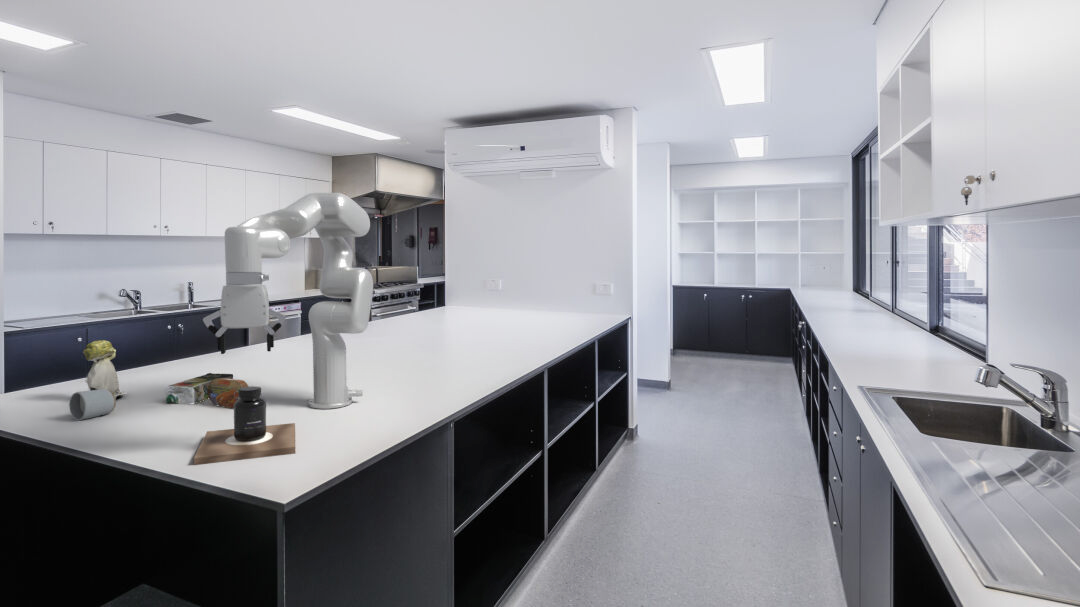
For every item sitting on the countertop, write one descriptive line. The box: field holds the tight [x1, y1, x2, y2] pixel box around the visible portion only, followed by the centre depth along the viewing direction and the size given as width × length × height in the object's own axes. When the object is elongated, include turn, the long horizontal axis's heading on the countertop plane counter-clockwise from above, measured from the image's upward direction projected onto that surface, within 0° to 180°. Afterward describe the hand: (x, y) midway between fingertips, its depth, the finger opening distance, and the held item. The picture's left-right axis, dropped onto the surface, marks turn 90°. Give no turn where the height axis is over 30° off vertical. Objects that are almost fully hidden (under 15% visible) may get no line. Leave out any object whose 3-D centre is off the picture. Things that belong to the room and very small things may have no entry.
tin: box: [208, 378, 250, 409], centre depth 167 cm, size 15×3×8 cm, turn 68°
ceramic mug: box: [68, 389, 116, 421], centre depth 155 cm, size 11×8×8 cm
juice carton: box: [165, 372, 234, 404], centre depth 178 cm, size 10×20×6 cm, turn 174°
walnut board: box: [193, 422, 296, 466], centre depth 133 cm, size 20×20×2 cm
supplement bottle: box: [233, 386, 267, 442], centre depth 133 cm, size 7×7×12 cm
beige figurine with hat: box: [82, 339, 127, 400], centre depth 172 cm, size 12×13×18 cm
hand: (246, 351), depth 132 cm, fingers open, 9 cm apart
